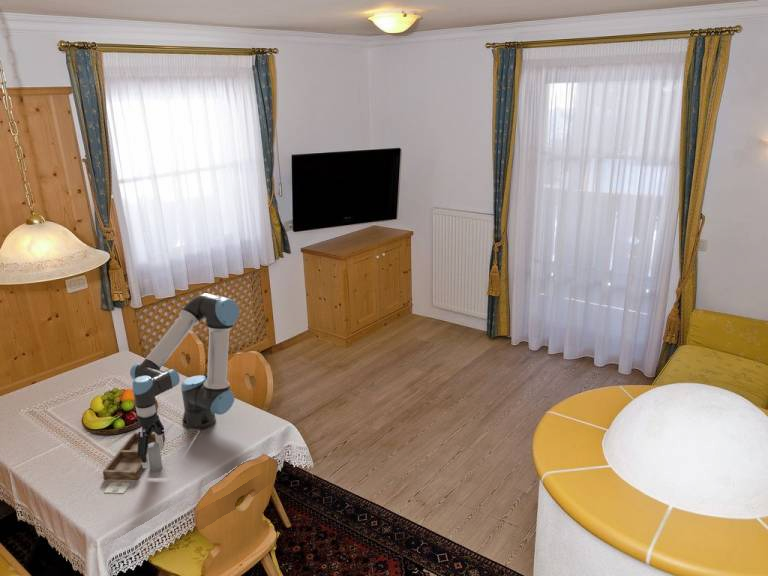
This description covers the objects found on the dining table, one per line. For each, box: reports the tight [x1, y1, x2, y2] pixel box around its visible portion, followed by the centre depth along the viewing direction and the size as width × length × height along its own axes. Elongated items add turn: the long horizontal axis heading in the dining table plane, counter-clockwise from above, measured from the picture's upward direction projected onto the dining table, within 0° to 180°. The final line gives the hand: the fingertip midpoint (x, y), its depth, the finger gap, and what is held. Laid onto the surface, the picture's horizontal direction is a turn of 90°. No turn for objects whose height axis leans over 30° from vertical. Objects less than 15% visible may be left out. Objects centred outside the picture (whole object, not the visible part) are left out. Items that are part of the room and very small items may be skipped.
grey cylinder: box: [147, 442, 163, 473], centre depth 243 cm, size 5×5×12 cm
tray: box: [102, 431, 166, 482], centre depth 252 cm, size 14×28×4 cm, turn 177°
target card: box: [103, 481, 131, 495], centre depth 234 cm, size 8×6×1 cm
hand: (153, 457), depth 243 cm, fingers open, 13 cm apart
